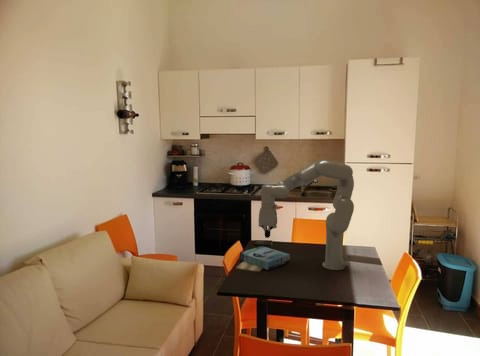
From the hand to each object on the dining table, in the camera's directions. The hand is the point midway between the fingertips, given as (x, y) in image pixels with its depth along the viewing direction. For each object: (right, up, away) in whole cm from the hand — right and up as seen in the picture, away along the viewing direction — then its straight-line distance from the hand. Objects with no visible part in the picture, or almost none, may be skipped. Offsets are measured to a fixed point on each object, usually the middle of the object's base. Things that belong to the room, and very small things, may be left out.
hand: (267, 237), depth 213 cm
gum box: (+7, -14, -1) cm, 16 cm away
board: (-8, -17, +5) cm, 19 cm away
